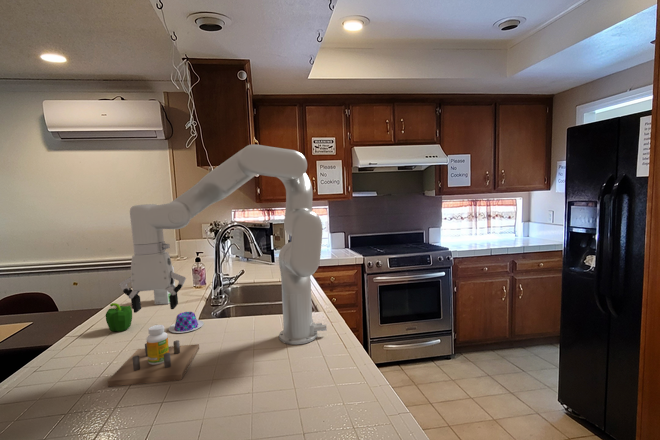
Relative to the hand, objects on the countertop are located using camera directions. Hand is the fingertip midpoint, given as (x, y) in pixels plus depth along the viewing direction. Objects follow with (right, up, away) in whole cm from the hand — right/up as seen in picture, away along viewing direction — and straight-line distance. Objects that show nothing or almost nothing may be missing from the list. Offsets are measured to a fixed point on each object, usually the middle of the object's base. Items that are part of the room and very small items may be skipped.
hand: (155, 309), depth 97 cm
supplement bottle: (0, -15, +1) cm, 15 cm away
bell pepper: (-27, -15, +29) cm, 43 cm away
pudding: (-4, -15, +29) cm, 33 cm away
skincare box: (-26, -12, +60) cm, 67 cm away
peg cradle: (0, -16, +1) cm, 16 cm away
